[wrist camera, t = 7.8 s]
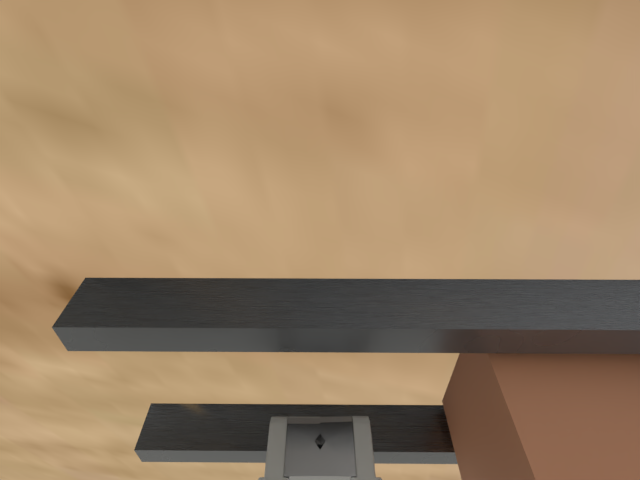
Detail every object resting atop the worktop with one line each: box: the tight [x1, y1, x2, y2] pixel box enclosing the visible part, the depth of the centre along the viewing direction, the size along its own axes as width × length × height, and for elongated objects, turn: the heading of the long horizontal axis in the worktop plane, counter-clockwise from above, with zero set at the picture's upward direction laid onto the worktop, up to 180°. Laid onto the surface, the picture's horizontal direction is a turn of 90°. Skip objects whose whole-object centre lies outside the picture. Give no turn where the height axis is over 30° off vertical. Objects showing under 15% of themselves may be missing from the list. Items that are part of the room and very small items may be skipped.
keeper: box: [442, 353, 640, 480], centre depth 11 cm, size 5×5×6 cm
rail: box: [52, 278, 640, 464], centre depth 12 cm, size 19×8×5 cm, turn 90°
